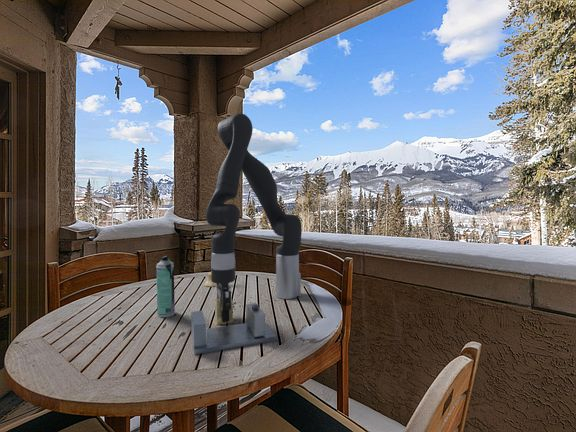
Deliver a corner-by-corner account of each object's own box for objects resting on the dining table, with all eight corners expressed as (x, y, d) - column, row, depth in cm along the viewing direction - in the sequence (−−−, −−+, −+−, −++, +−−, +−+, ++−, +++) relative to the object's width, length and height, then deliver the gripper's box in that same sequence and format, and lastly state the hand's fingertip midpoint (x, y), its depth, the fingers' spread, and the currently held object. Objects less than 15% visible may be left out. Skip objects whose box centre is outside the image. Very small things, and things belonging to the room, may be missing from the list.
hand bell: (208, 281, 146) (208, 248, 145) (225, 282, 145) (224, 249, 144) (201, 286, 138) (200, 251, 137) (218, 287, 137) (218, 252, 136)
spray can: (178, 312, 106) (177, 255, 105) (167, 318, 101) (165, 258, 100) (165, 310, 108) (164, 254, 107) (153, 316, 103) (152, 257, 102)
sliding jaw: (255, 322, 94) (255, 299, 94) (265, 335, 85) (265, 310, 84) (246, 323, 93) (246, 300, 93) (254, 337, 84) (254, 312, 83)
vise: (264, 324, 96) (264, 301, 96) (276, 340, 85) (276, 315, 85) (191, 335, 88) (190, 310, 88) (194, 354, 77) (193, 326, 77)
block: (230, 317, 101) (230, 297, 101) (232, 322, 98) (232, 300, 97) (215, 320, 99) (215, 298, 99) (217, 324, 96) (216, 302, 95)
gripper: (239, 270, 92) (239, 324, 93) (230, 261, 106) (231, 308, 106) (214, 272, 89) (214, 328, 90) (208, 262, 103) (209, 311, 104)
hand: (223, 317), depth 98 cm, fingers open, 6 cm apart
